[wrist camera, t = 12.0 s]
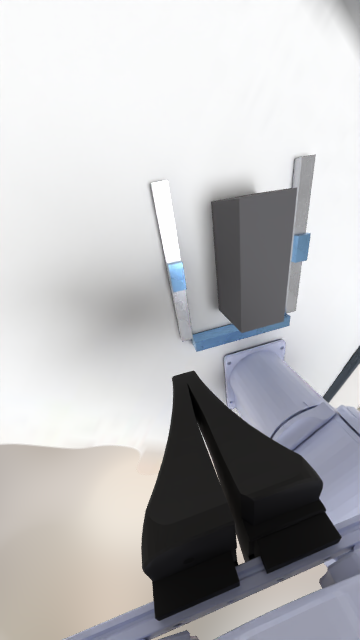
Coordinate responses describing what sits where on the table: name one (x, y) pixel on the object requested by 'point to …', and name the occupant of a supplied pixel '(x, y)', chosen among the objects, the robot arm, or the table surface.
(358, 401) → the phone case
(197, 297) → the table surface
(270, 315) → the dark grey block
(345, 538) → the robot arm
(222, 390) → the table surface
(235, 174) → the table surface
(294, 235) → the silver and blue frame
